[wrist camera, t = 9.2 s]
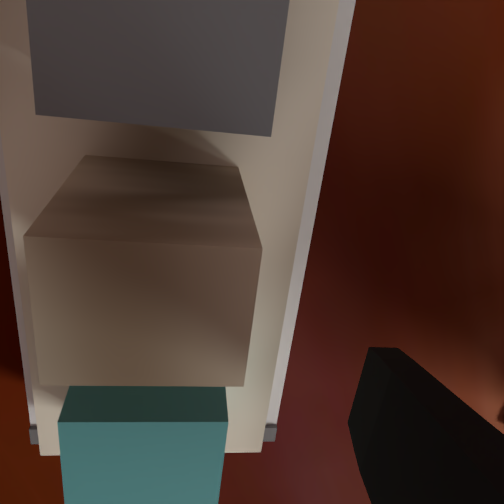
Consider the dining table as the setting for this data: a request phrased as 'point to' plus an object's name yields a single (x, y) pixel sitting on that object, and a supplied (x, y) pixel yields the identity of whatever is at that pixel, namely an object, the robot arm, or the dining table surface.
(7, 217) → the dock
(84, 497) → the block
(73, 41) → the grey cube
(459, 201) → the dining table surface
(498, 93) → the dining table surface
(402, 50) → the dining table surface
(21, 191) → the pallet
